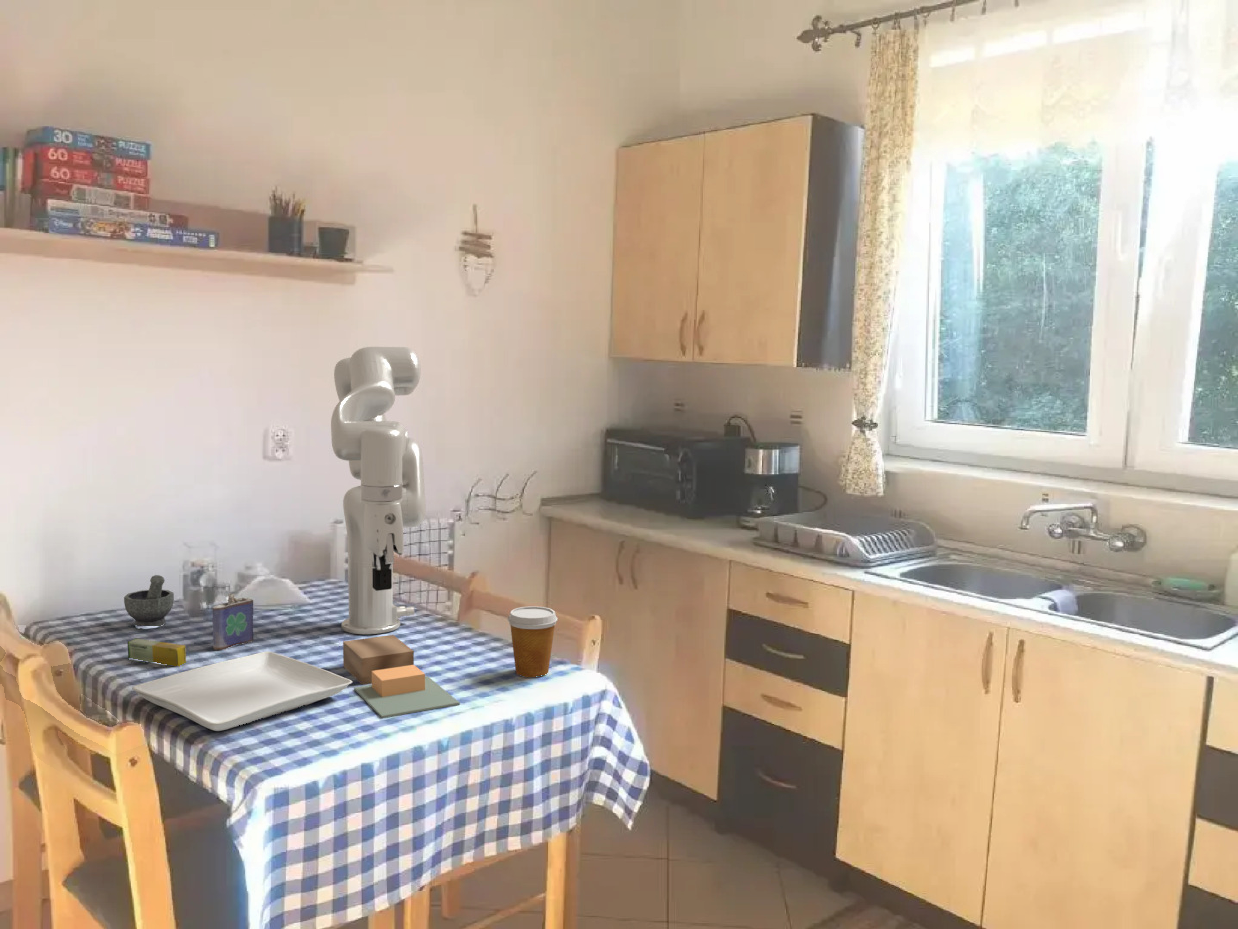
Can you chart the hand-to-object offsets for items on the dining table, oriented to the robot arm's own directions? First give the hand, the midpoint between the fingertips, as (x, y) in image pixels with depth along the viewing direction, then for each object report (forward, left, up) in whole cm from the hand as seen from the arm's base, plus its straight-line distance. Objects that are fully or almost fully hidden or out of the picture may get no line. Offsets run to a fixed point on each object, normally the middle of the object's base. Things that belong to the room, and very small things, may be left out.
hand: (382, 588), depth 195 cm
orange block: (0, +10, -13) cm, 17 cm away
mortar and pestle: (+34, -54, -17) cm, 66 cm away
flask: (+21, -32, -17) cm, 42 cm away
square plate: (+26, +2, -17) cm, 31 cm away
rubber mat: (0, +14, -17) cm, 22 cm away
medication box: (+36, -27, -17) cm, 49 cm away
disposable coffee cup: (-26, +12, -17) cm, 33 cm away
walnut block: (0, -2, -17) cm, 17 cm away
